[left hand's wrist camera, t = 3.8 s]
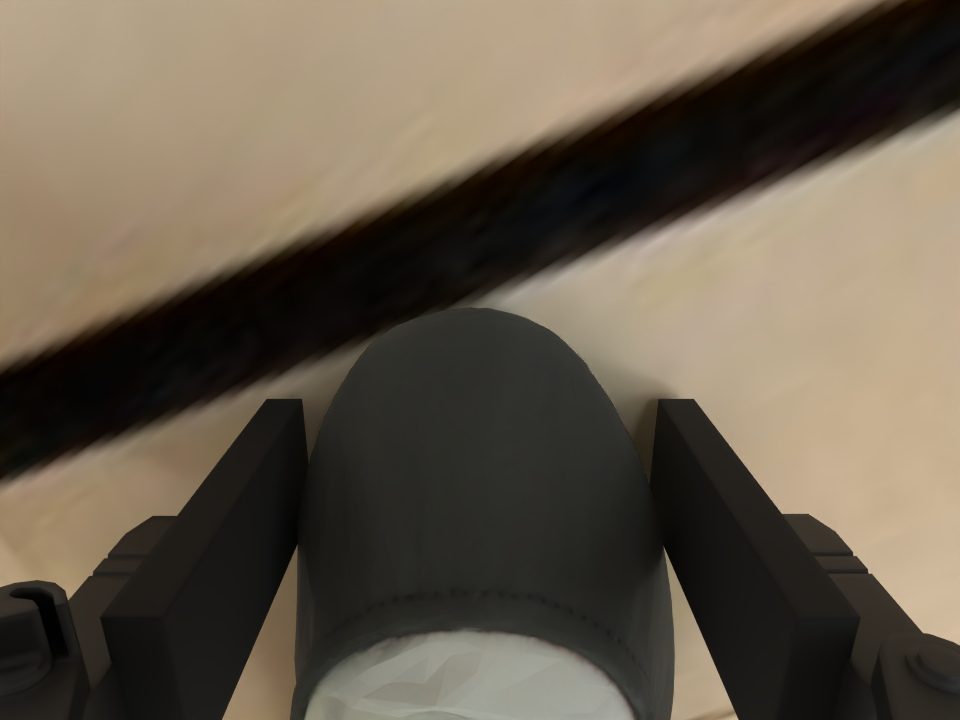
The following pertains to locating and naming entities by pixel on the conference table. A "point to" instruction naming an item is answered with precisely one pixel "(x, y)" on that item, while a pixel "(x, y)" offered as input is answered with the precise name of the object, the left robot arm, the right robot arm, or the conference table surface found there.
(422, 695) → the ballet flat
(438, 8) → the conference table surface
